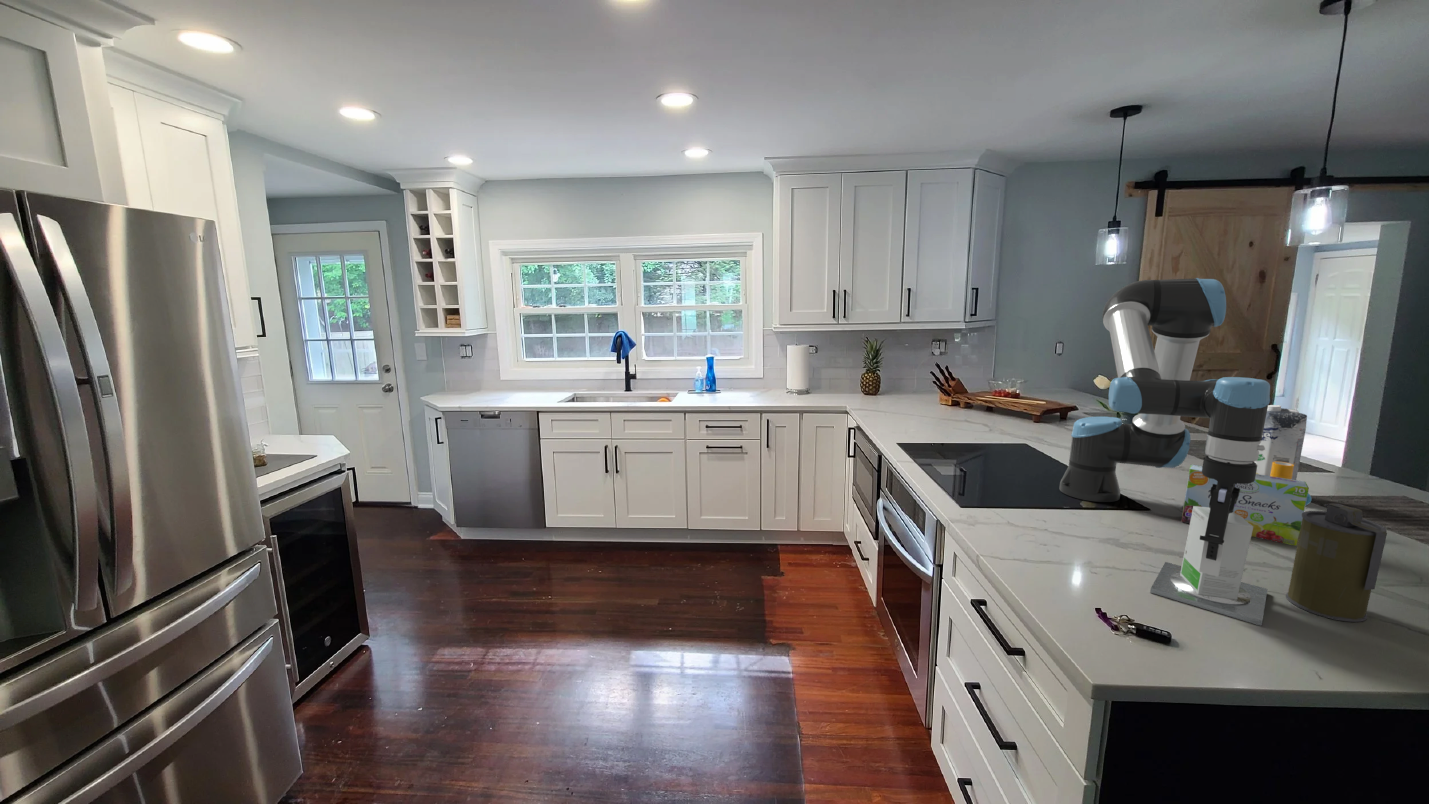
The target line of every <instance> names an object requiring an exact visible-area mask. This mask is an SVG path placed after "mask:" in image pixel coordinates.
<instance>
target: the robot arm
mask: <svg viewBox="0 0 1429 804" xmlns="http://www.w3.org/2000/svg"><path fill="white" fill-rule="evenodd" d="M1226 315H1227V297H1226V292H1225V288H1224V286H1223V284H1222V282H1221V281H1219V280H1218V279H1216V278H1215V279H1214V278H1199V277H1196V278H1172V279H1169V278H1168V279H1142V280H1137V281H1134V282H1131V283H1128V284H1127V285H1125V286H1123V287H1121V288H1120V289H1118V290H1117V291H1115V292H1114V293H1113V294H1112V295H1111V296H1110V298H1109V299H1108V300H1107V301H1106V303H1105V304H1104V306H1103V310H1102V316H1101V317H1102V322H1103V326H1104V328H1105V330H1107V331H1109V335H1110V340H1111V346H1112V351H1113V358H1114V363H1115V364H1114V365H1115V369H1116V374H1117V375H1116V376H1117V377H1115V378H1113V379H1112V380H1111V381H1110V383H1109V388H1108V406H1109V408H1110V409H1111V410H1112V411H1114V412H1120V413H1121V412H1122V413H1128V414H1134V417H1132V421H1131V423H1123V420H1122V419H1121V418H1120V417H1115V416H1089V417H1087V416H1086V417H1083V418H1079V419H1077V420H1076V421H1074V422H1073V427H1072V432H1071V443H1070V451H1069V459H1068V461H1069V462H1068V466H1067V468H1066V470H1065V472H1064V474H1063V476H1062V478H1061V479H1060V482H1059V491H1060V492H1061V493H1063V494H1064V495H1066V496H1069V497H1071V498H1075V499H1077V500H1084V501H1090V502H1097V503H1111V502H1112V503H1113V502H1117V501H1119V500H1120V498H1121V488H1120V485H1119V481H1118V477H1117V474H1116V469H1117V464H1123V465H1125V464H1127V465H1133V466H1135V465H1136V466H1146V467H1153V468H1154V467H1155V468H1157V469H1158V468H1159V469H1160V468H1161V469H1162V468H1168V469H1175V468H1177V467H1179V466H1180V465H1182V464H1183V463H1184V462H1185V460H1186V458H1187V457H1188V454H1189V451H1190V444H1191V433H1190V430H1189V429H1187V428H1186V424H1185V423H1184V421H1182V420H1181V417H1187V418H1190V417H1191V418H1203V419H1209V424H1208V430H1207V434H1206V440H1205V445H1204V447H1205V448H1204V454H1205V455H1206V456H1204V457H1203V462H1202V466H1203V467H1202V474H1203V475H1204V476H1206V477H1208V478H1210V479H1215V480H1217V481H1218V482H1217V484H1213V486H1212V487H1211V490H1210V496H1211V498H1210V503H1209V508H1210V513H1209V518H1208V523H1207V528H1206V533H1205V536H1201V535H1200V540H1203V541H1204V545H1203V552H1202V558H1201V564H1200V570H1199V572H1202V573H1206V574H1210V575H1213V576H1217V577H1218V576H1219V570H1220V565H1221V559H1222V553H1223V547H1224V540H1223V539H1224V535H1225V530H1226V525H1227V521H1228V516H1229V513H1232V512H1233V510H1234V505H1235V504H1236V502H1237V500H1238V497H1239V493H1240V488H1236V487H1237V483H1240V484H1248V483H1252V482H1254V481H1255V476H1256V471H1257V464H1256V463H1255V462H1254V461H1257V460H1258V457H1259V451H1258V450H1260V451H1263V450H1265V447H1264V446H1263V445H1259V444H1260V443H1261V440H1262V435H1263V430H1264V425H1265V419H1266V414H1267V409H1268V405H1269V404H1270V402H1271V397H1270V396H1271V395H1270V394H1271V384H1270V383H1269V382H1268V381H1267V380H1265V379H1258V378H1253V377H1252V378H1251V377H1244V376H1243V377H1239V376H1227V377H1226V376H1225V377H1221V378H1219V379H1214V378H1213V379H1212V378H1211V379H1206V380H1191V377H1192V373H1193V369H1194V364H1195V360H1196V358H1197V353H1198V349H1199V345H1200V341H1201V340H1203V339H1204V338H1207V337H1208V336H1209V335H1210V333H1211V330H1212V327H1213V328H1217V327H1220V326H1221V325H1222V324H1223V323H1224V321H1225V317H1226ZM1149 326H1150V327H1151V332H1152V333H1153V334H1154V335H1155V336H1156V337H1157V338H1156V343H1155V346H1154V344H1153V341H1152V336H1151V333H1150V328H1149ZM1154 347H1155V348H1154ZM1135 414H1136V415H1135ZM1210 534H1212V535H1216V536H1219V537H1216V536H1211V535H1210Z"/></svg>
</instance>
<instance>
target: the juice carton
mask: <svg viewBox="0 0 1429 804" xmlns="http://www.w3.org/2000/svg"><path fill="white" fill-rule="evenodd" d="M1307 418H1308V415H1307V414H1305V413H1301V412H1299V411H1298V410H1297V409H1293V408H1283V407H1282V405H1278V404H1270V405H1269V404H1268V409H1267V414H1266V419H1265V425H1264V430H1263V435H1262V440H1261V443H1260V444H1259V445H1263V446H1264V447H1265V450H1263V451H1260V450H1258V451H1259V457H1258V460H1257V461H1254V462H1255V463H1256V464H1257V471H1256V474H1259V475H1265V476H1270V473H1271V467H1272V462H1275V461H1277V462H1286V463H1291V464H1293V465H1294V469H1293V475H1292V480H1297V477H1298V473H1299V472H1298V471H1299V468H1300V463H1301V462H1300V461H1301V456H1302V451H1303V446H1304V440H1305V436H1306V429H1307V422H1308V421H1307V420H1308V419H1307Z"/></svg>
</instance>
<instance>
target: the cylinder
mask: <svg viewBox="0 0 1429 804" xmlns="http://www.w3.org/2000/svg"><path fill="white" fill-rule="evenodd" d="M1293 469H1294V465H1293V464H1291V463H1286V462H1277V461H1275V462H1272V467H1271V473H1270V476H1272V477H1278V478H1285V479H1292V475H1293ZM1311 502H1312V495H1311V494H1309V492H1308V496H1307V500H1306V505H1305V506H1307V505H1309V504H1311Z"/></svg>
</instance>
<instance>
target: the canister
mask: <svg viewBox="0 0 1429 804" xmlns="http://www.w3.org/2000/svg"><path fill="white" fill-rule="evenodd" d="M1323 507H1324V508H1325V507H1326V511H1323V510H1307V511H1304V512H1303V513H1302V518H1303V519H1302V524H1301V529H1300V534H1299V539H1298V543H1297V546H1296V549H1295V555H1294V560H1293V566H1292V570H1291V577H1290V582H1289V585H1288V590H1287V592H1286V594H1285V597H1286V599H1287V601H1289V602H1290V604H1293V605H1294V606H1296V607H1297V608H1299V609H1302V610H1304V611H1305V612H1308V613H1311V614H1314V615H1317V616H1319V617H1322V618H1326V619H1330V620H1334V621H1342V622H1349V623H1361V622H1364V621H1367V618H1368V614H1367V612H1368V606H1369V603H1370V597H1371V593H1372V590H1373V591H1374V590H1375V588H1376V584H1377V579H1378V575H1379V570H1380V566H1381V561H1382V557H1383V552H1384V549H1385V548H1384V547H1385V544H1386V540H1387V537H1388V535H1387V534H1388V533H1387V529H1386V527H1384V526H1383V525H1382V524H1379V523H1377V522H1375V521H1372V520H1369V519H1366V518H1363V510H1362V509H1359V508H1356V507H1350V506H1347V505H1344V504H1341V503H1325V504H1323Z"/></svg>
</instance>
